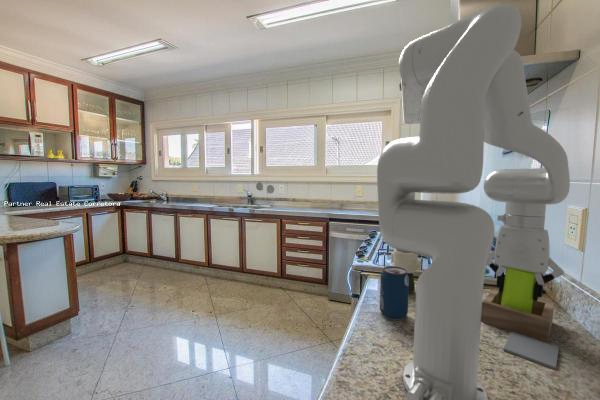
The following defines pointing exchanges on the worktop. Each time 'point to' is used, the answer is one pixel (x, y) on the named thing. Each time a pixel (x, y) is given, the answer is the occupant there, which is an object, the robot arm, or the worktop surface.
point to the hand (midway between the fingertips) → (518, 294)
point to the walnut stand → (519, 317)
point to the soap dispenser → (518, 289)
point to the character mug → (407, 264)
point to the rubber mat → (532, 349)
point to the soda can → (394, 293)
